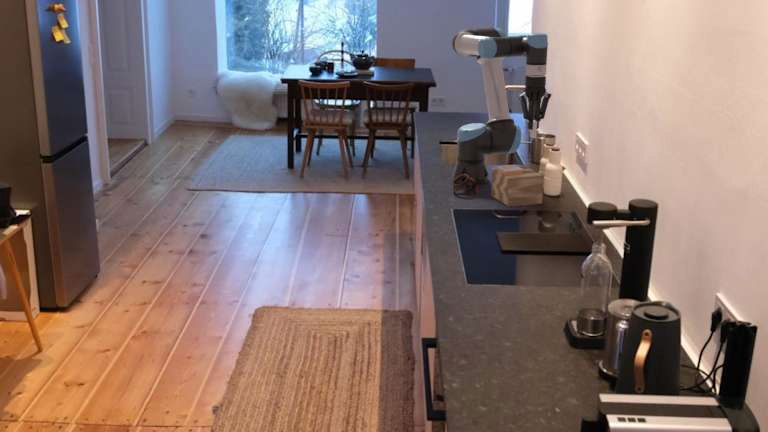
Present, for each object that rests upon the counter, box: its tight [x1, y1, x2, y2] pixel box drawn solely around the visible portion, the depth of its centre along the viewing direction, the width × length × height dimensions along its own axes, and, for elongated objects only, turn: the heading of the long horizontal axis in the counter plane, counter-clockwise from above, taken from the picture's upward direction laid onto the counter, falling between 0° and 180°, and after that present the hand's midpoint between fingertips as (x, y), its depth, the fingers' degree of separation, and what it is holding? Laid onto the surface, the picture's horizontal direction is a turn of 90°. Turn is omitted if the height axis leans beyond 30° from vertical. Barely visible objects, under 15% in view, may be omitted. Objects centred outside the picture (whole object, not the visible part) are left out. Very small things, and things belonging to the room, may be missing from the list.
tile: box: [497, 164, 523, 176], centre depth 328 cm, size 7×7×2 cm
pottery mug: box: [452, 174, 479, 194], centre depth 343 cm, size 12×10×8 cm
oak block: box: [490, 164, 544, 207], centre depth 331 cm, size 16×14×11 cm
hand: (533, 137), depth 327 cm, fingers closed
